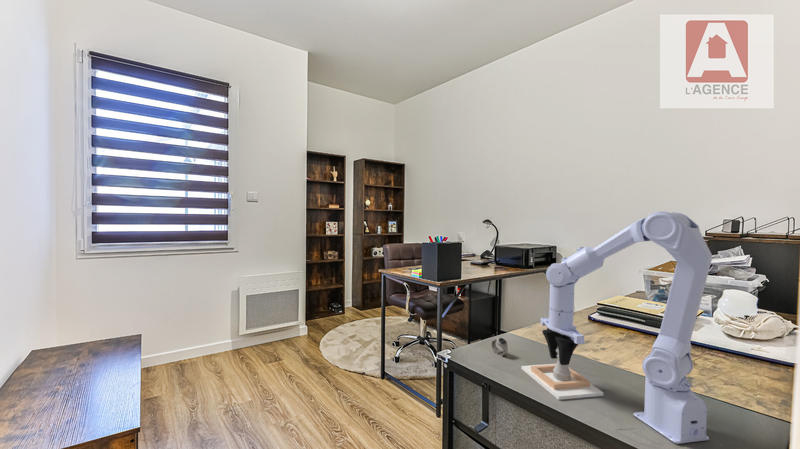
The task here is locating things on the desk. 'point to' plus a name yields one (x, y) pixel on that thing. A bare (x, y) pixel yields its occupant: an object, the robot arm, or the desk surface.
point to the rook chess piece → (561, 370)
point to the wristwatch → (502, 344)
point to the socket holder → (562, 382)
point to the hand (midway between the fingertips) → (559, 361)
